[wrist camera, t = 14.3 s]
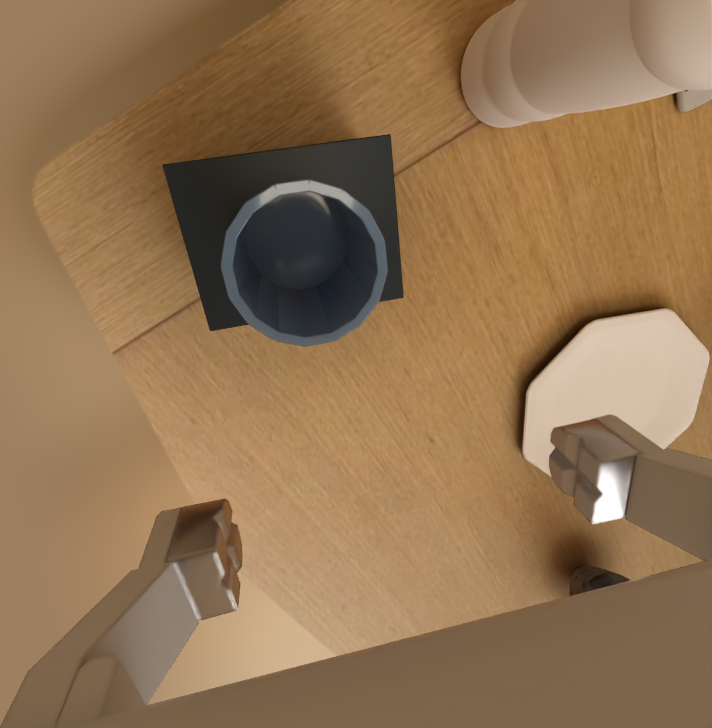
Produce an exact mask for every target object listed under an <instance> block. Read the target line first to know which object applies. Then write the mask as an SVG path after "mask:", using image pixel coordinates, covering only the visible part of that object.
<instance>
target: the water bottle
mask: <svg viewBox="0 0 712 728" xmlns="http://www.w3.org/2000/svg"><path fill="white" fill-rule="evenodd" d="M461 86H462V92H463V95H464V99H465V101H466V103H467V105H468V107H469V109H470V110H471V112H472V113H473V114H474V115H475V116H476V117H477V118H478V119H479V120H480V121H481V122H483V123H485V124H487V125H489V126H492V127H497V128H509V127H515V126H519V125H523V124H526V123H529V122H537V121H545V120H550V119H554V118H557V117H560V116H562V115H565V114H569V113H581V112H590V111H596V110H603V109H608V108H614V107H619V106H624V105H629V104H634V103H638V102H643V101H647V100H651V99H655V98H659V97H663V96H666V95H670V94H673V93H676V92H680V91H683V90H690V91H702V90H711V89H712V0H516V1H514V2H513V3H512V4H511V5H509V6H507V7H505V8H503V9H501V10H500V11H498V12H497V13H495V14H494V15H492V16H491V17H490V18H488V19H487V20H486V21H485V22H484V23H483V24H482V25H481V26H480V27H479V28H478V29H477V31H476V32H475V33H474V35H473V36H472V38H471V40H470V41H469V43H468V46H467V48H466V50H465V54H464V57H463V61H462V67H461Z"/></svg>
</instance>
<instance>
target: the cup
mask: <svg viewBox="0 0 712 728" xmlns="http://www.w3.org/2000/svg"><path fill="white" fill-rule="evenodd" d="M221 270H222V274H223V278H224V282H225V285H226V289H227V293H228V297H229V299H230V301H231V302H232V303H233V305H234V306H235V307H236V309H237V310H238V311H239V313H240V314H241V315H242V317H243V318H244V319H245V321H246V322H247V323H248V324H249V325H250V326H252V327H253V328H255V329H256V330H258V331H260V332H261V333H263V334H265V335H266V336H268V337H269V338H271V339H273V340H275V341H278V342H283V343H288V344H294V345H299V346H312V345H317V344H323V343H328V342H334V341H336V340H338V339H340V338H341V337H343V336H345V335H346V334H348V333H349V332H351V331H353V330H354V329H356V328H358V327H359V326H360V325H362V323H363V322H364V321H365V319H366V318H367V317H368V316H369V314H370V313H371V312H372V310H373V309H374V308H375V307H376V305H377V304H378V301H380V297H381V294H382V290H383V287H384V284H385V280H386V277H387V272H388V268H387V257H386V246H385V240H384V237H383V235H382V233H381V232H380V230H379V228H378V226H377V224H376V222H375V220H374V218H373V216H372V214H371V212H370V211H369V210H368V209H367V208H366V207H365V206H364V205H362V204H361V203H360V202H359V201H358V200H356V199H355V198H354V197H353V196H352V195H350V194H349V193H348V192H347V191H345V190H344V189H342V188H340V187H336V186H333V185H329V184H326V183H322V182H319V181H315V180H312V179H308V178H304V177H298V176H297V177H290V178H282V179H275V180H273V181H272V182H270V183H268V184H267V185H265V186H264V187H262V188H261V189H259V190H258V191H256V192H255V193H254V194H253V195H252V196H251V197H250V198H249V199H248V200H247V201H246V202H245V203H244V204H243V206H242V207H241V209H240V211H239V212H238V214H237V215H236V217H235V218H234V220H233V221H232V223H231V225H230V226H229V228H228V229H227V231H226V234H225V240H224V246H223V253H222V259H221Z"/></svg>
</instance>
